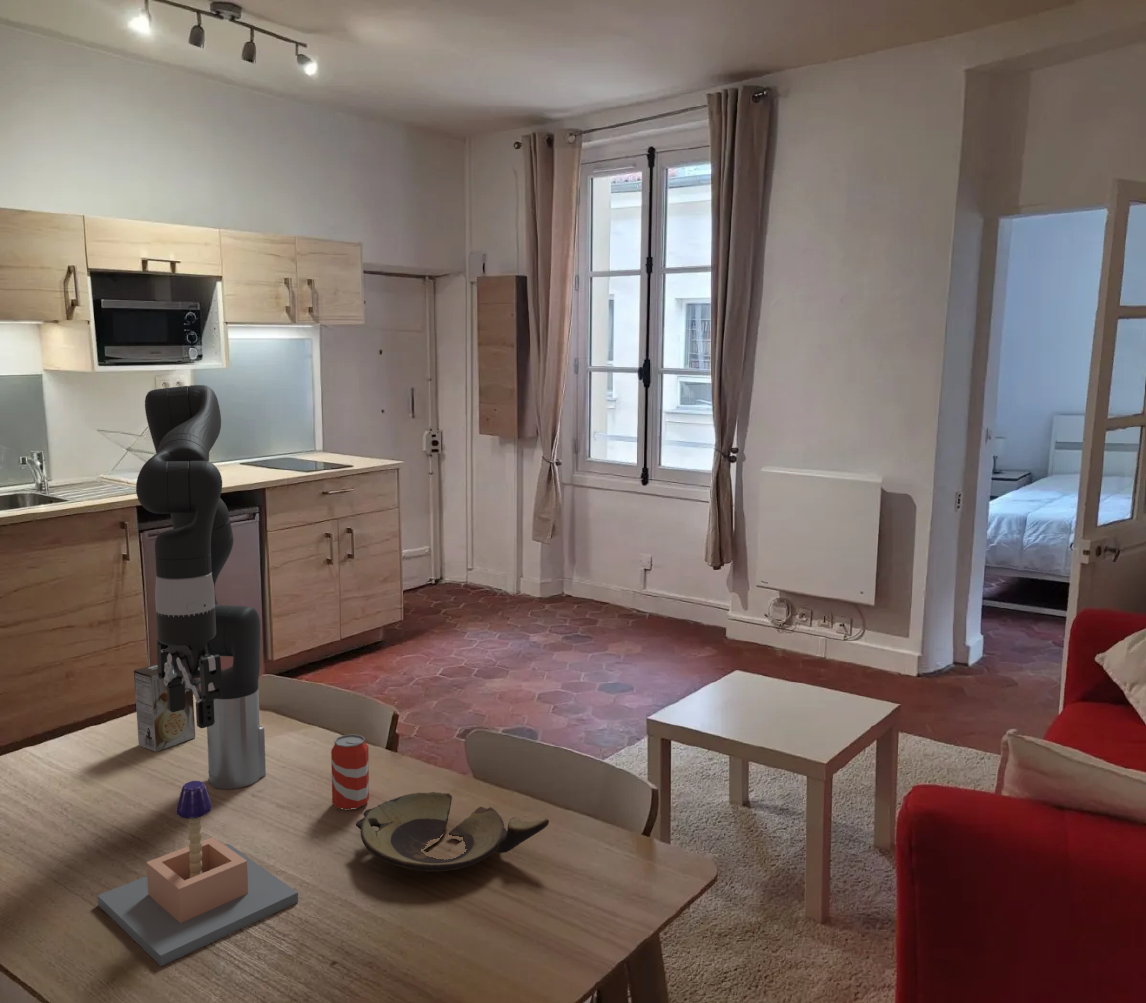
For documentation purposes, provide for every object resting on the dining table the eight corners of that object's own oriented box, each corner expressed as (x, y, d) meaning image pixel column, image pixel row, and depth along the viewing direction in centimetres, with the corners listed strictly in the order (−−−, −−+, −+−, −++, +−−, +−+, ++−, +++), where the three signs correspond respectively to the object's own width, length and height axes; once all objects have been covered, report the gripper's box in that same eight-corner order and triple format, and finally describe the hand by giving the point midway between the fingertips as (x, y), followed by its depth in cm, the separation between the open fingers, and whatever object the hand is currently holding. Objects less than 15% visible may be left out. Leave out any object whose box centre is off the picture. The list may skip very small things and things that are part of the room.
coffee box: (177, 731, 195) (174, 658, 193) (196, 738, 192) (193, 663, 190) (137, 745, 188) (133, 669, 185) (155, 753, 184) (151, 675, 182)
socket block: (229, 852, 147) (227, 814, 146) (298, 902, 134) (296, 860, 133) (98, 905, 133) (95, 862, 132) (161, 966, 119) (158, 920, 118)
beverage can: (357, 815, 161) (356, 749, 159) (325, 808, 163) (324, 743, 161) (375, 799, 166) (374, 736, 164) (344, 794, 168) (343, 731, 167)
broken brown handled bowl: (418, 806, 164) (417, 765, 163) (563, 852, 149) (563, 808, 148) (326, 863, 145) (325, 817, 144) (482, 922, 130) (482, 872, 129)
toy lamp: (222, 888, 135) (217, 780, 132) (199, 905, 130) (194, 793, 128) (195, 881, 136) (190, 774, 134) (172, 898, 132) (166, 788, 129)
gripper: (237, 610, 125) (241, 724, 127) (187, 592, 134) (192, 698, 137) (183, 621, 119) (188, 740, 122) (135, 601, 129) (141, 712, 131)
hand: (190, 718), depth 129 cm, fingers open, 8 cm apart
